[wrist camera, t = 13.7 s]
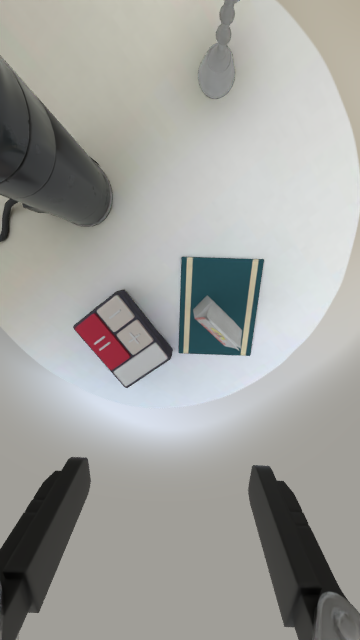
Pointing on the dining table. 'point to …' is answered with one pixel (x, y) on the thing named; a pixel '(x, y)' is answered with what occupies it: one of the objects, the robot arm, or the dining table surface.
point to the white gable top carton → (218, 323)
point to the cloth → (218, 301)
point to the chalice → (219, 58)
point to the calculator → (124, 338)
